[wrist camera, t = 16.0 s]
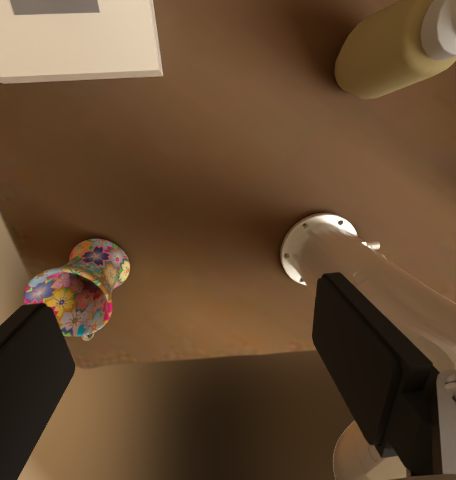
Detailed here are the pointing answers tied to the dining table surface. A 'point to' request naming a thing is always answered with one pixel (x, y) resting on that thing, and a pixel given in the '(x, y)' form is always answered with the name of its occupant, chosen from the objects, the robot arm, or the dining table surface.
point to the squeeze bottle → (398, 47)
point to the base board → (77, 40)
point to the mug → (81, 287)
